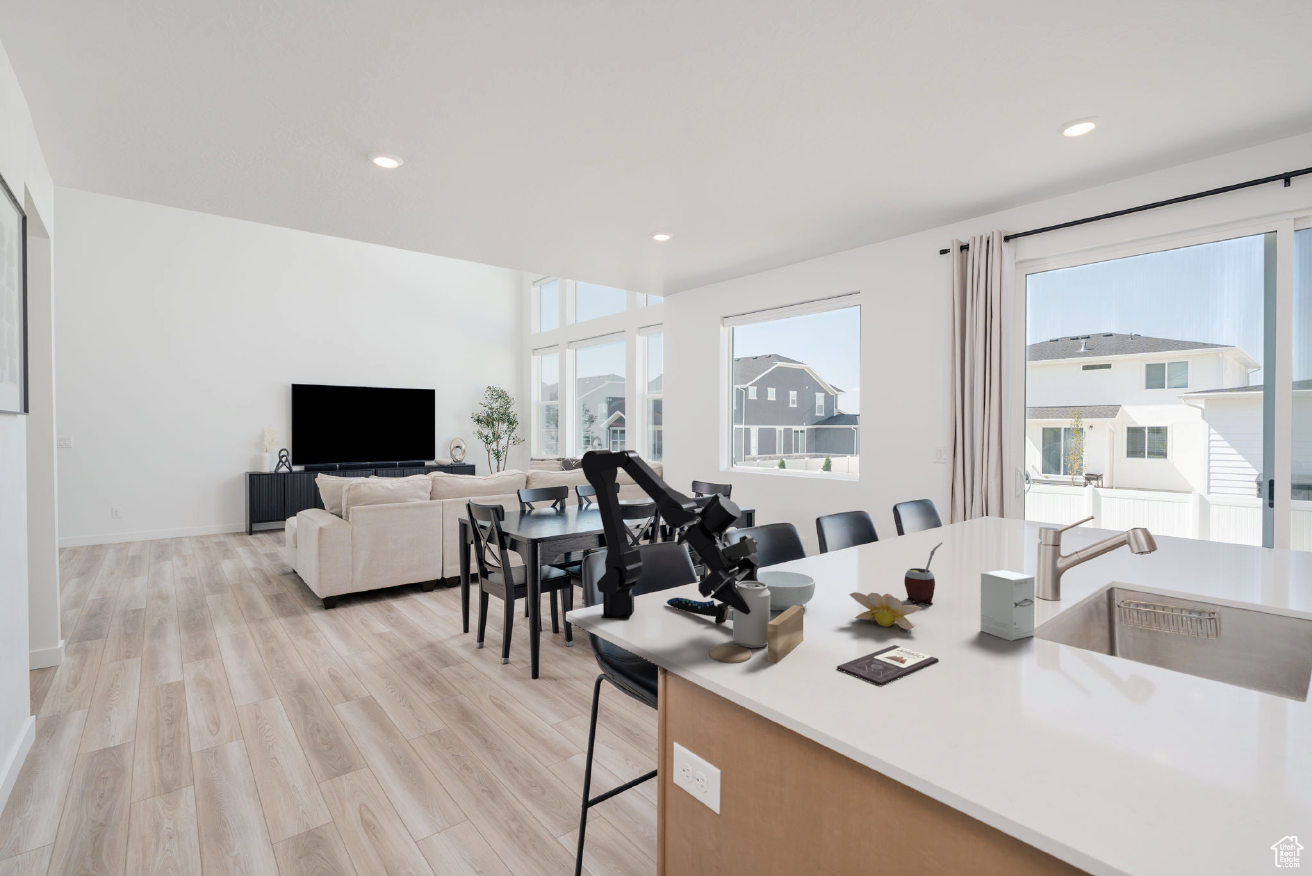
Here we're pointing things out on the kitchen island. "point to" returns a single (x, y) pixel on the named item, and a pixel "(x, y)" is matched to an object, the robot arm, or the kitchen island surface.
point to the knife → (703, 608)
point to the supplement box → (1007, 604)
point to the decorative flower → (885, 609)
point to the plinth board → (785, 633)
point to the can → (752, 615)
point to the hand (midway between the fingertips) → (757, 608)
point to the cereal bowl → (787, 588)
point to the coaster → (730, 653)
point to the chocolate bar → (887, 664)
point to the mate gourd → (920, 583)
